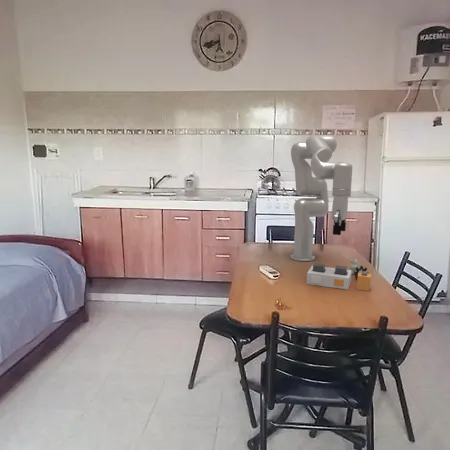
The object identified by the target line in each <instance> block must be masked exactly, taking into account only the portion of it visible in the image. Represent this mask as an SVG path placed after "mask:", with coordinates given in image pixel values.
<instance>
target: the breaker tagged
mask: <svg viewBox="0 0 450 450" xmlns="http://www.w3.org/2000/svg"><path fill="white" fill-rule="evenodd" d="M334 268H335V274H338V275H346V276H347V270H348V266H345V265H338V264H337V265H336V266H335V267H334Z"/></svg>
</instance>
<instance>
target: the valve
mask: <svg viewBox="0 0 450 450" xmlns="http://www.w3.org/2000/svg"><path fill="white" fill-rule="evenodd" d="M349 270H352V275H355V276H354V278H355V279H356V280H357V279H358V273H362V271H366V272H367V271H368V267H364V266H363V265H360V260H359V259H356V258H352V259H350V264H349ZM368 274H370V273H369V272H368Z"/></svg>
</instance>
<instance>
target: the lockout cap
mask: <svg viewBox="0 0 450 450" xmlns="http://www.w3.org/2000/svg"><path fill="white" fill-rule="evenodd" d="M368 273H369V272H368V271H367V270H366V271H362V273H358V278H357V279H356V280H357V281H356V290H358V291H359V290H360V291H366V292H370V288H371V279H372V278H371V277H372V274H371V273H369V274H368Z"/></svg>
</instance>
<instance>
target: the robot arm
mask: <svg viewBox="0 0 450 450" xmlns="http://www.w3.org/2000/svg"><path fill="white" fill-rule="evenodd" d="M336 149H337V140H336V138H335V136H333V135H330V134H312V135H310V136H309V137H307V139H306V140H305V141H299V142H296V143H293V144H292V147H291V149H290V157H291V161H292V164H293V165H292V166H293V168H294V177H295V178H294V179H295V190H296V191H295V192H296V194H297V195H299V196H301V197H302V196H303V197H304V198H298V199H297V200H296V201H294V204H293V211H294V212H293V213H294V237H293V239H294V240H293V241H294V242H293V253H292V254H290V256H289V257H290V259H292V260H293V261H297V262H298V261H299V262H311V261H314V260H315V259H316V257H315V255H313V242H314V227H315V226H314V223H313V221H312V220H311V218H312V217H313V218H317V217H318V218H319V217H326V216H327V215H328V213H329V193H328V191H329V189H328V183H327V181H326V180H332V190H331V191H332V192H331V193H332V194H331V196H332V197H333V200H332V208H331V216H330V217H331V218H330V219H331V220H333V225H332V235H335V236H341V235H342V232H346V225H347V219H346V218H347V217H348V208H349V207H348V206H349V198H350V197H351V196H352V195H351V194H352V180H353V165H352V164H351V163H348V162H341V161H330V160H331V158H332V157H333V153H334V152H335V151H336ZM308 159H309V160H310V163H309V162H308V161H307V160H308ZM313 175H314V177H313ZM305 196H306V197H305ZM307 197H308V198H307ZM311 197H312V198H311ZM313 197H315V198H313Z"/></svg>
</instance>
